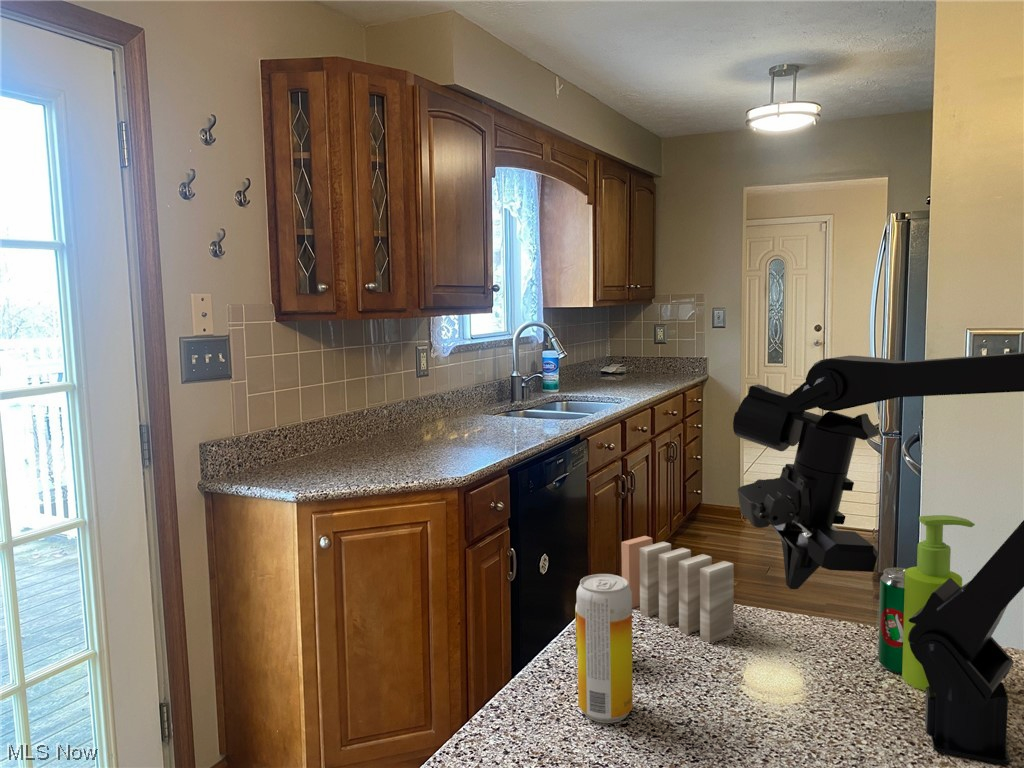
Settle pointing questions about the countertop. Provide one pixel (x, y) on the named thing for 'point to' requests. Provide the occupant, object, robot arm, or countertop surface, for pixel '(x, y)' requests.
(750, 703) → the countertop surface
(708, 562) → the domino
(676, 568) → the domino
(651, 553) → the domino
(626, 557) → the domino
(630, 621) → the beer can
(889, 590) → the soda can
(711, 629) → the domino
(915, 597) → the soap dispenser
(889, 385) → the robot arm
